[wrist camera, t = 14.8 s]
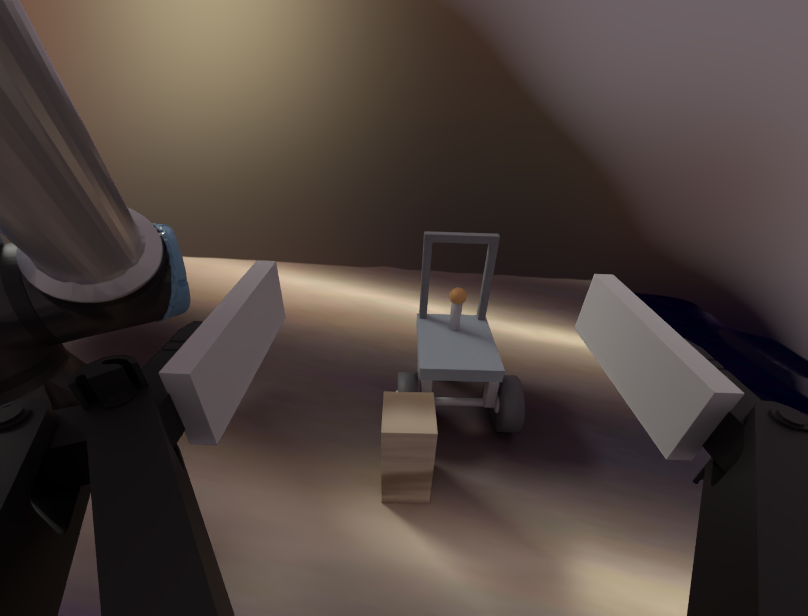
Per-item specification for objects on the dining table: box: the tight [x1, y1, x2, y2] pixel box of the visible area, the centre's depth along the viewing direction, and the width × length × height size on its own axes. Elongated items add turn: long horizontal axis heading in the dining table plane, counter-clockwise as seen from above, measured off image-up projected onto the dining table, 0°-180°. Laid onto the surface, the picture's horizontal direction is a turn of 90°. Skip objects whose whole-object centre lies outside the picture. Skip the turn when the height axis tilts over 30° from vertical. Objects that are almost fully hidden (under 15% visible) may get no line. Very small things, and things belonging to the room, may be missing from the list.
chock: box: [381, 392, 438, 504], centre depth 36 cm, size 5×5×11 cm
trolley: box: [396, 232, 525, 433], centre depth 44 cm, size 15×15×22 cm
